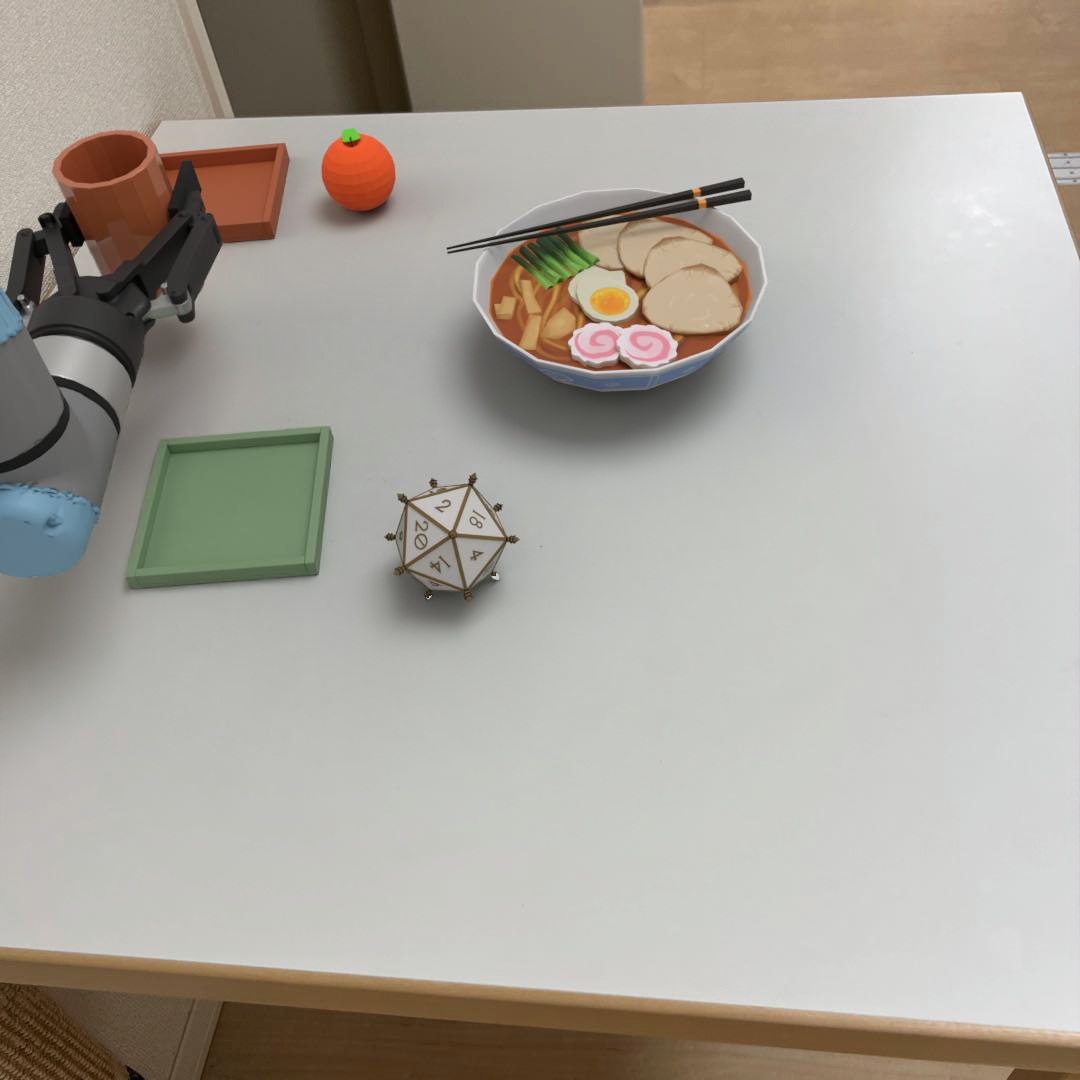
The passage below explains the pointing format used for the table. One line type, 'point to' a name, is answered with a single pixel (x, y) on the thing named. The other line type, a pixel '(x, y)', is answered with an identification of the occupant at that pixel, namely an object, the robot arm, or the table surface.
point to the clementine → (358, 171)
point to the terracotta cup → (115, 194)
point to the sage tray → (233, 508)
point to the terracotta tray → (238, 186)
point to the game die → (449, 537)
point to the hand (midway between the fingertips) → (140, 180)
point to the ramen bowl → (621, 284)
